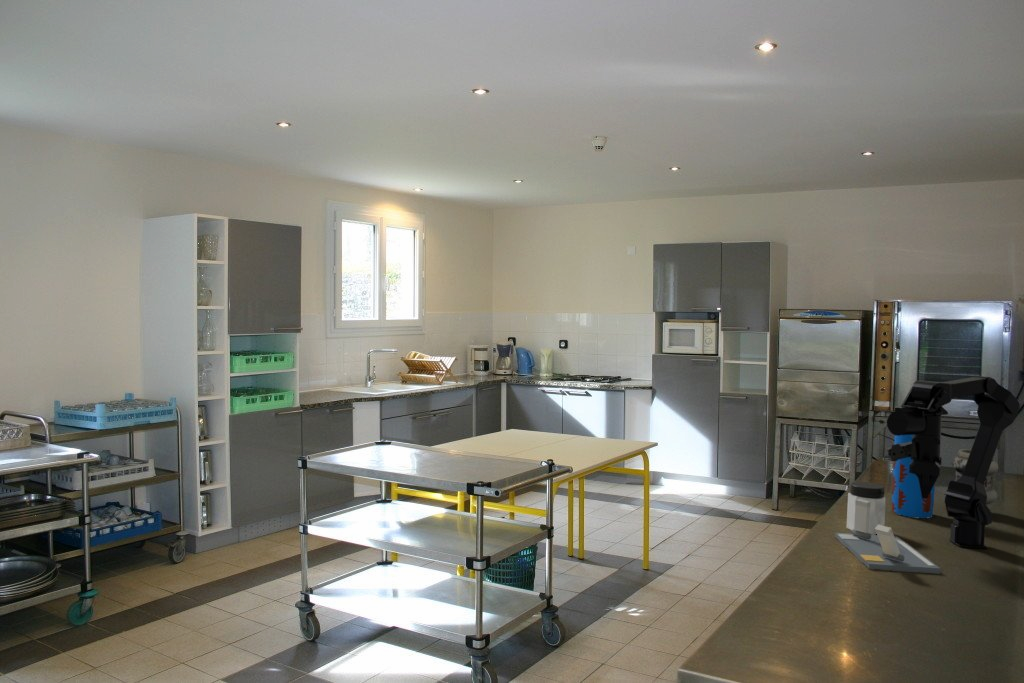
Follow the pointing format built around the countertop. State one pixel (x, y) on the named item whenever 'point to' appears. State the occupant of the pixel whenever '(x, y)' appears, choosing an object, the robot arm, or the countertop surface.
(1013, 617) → the countertop surface
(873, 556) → the switch panel
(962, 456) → the apothecary jar
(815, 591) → the countertop surface
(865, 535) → the lever
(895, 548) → the lever
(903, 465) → the thermos
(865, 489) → the jar
